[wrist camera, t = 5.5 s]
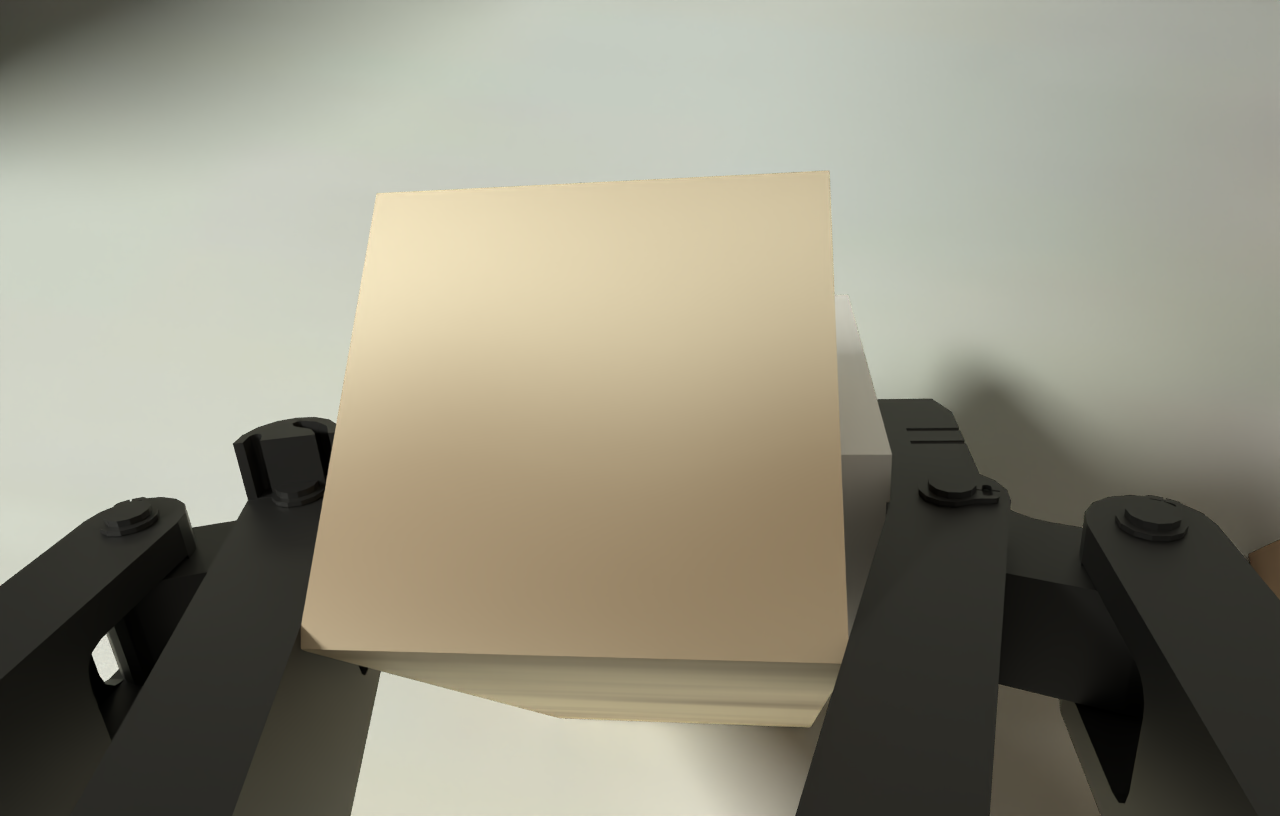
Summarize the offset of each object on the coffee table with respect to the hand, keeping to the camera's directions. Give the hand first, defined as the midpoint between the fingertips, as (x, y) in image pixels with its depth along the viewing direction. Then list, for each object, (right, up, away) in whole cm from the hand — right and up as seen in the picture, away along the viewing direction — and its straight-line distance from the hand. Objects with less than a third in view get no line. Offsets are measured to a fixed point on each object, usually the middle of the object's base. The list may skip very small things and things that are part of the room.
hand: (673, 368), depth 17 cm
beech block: (0, -5, +2) cm, 5 cm away
